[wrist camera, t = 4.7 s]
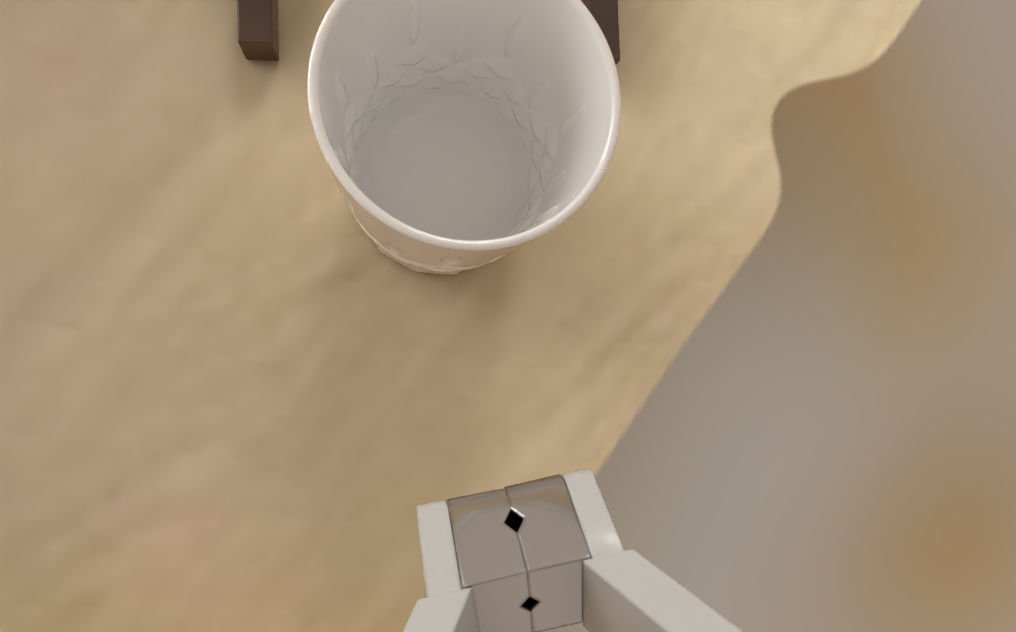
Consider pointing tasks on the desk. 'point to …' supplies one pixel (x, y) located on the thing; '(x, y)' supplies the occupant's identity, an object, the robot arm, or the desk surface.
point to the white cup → (462, 121)
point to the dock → (262, 27)
